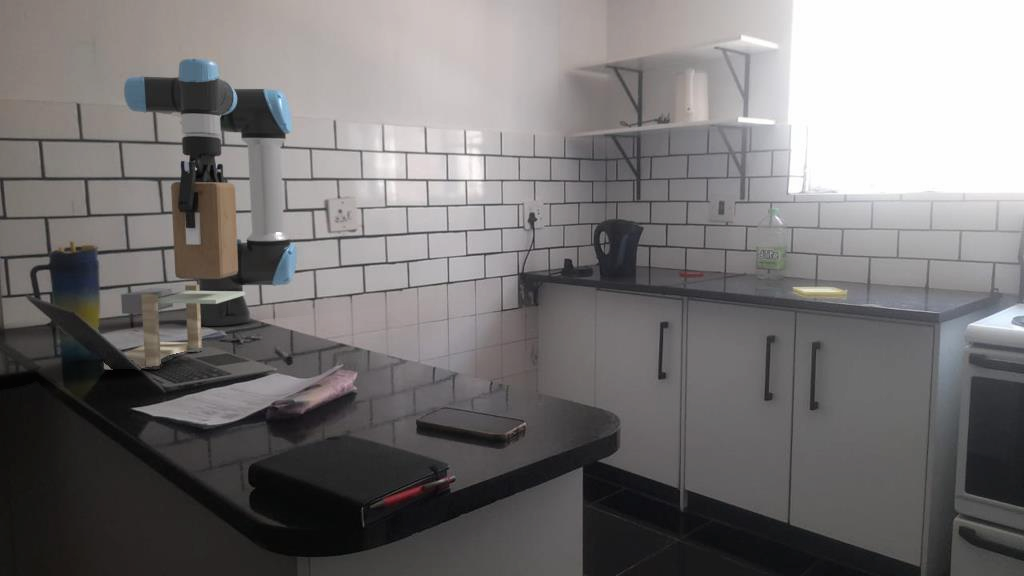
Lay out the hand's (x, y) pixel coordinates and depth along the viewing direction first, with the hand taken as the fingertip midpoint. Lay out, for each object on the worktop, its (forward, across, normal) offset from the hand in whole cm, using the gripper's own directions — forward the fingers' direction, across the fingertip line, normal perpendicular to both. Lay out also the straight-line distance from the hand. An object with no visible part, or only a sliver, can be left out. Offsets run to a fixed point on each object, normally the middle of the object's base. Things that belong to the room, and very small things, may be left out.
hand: (206, 242), depth 155 cm
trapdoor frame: (+26, 0, -12) cm, 28 cm away
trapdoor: (+15, 0, -5) cm, 16 cm away
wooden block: (+7, 0, 0) cm, 7 cm away
